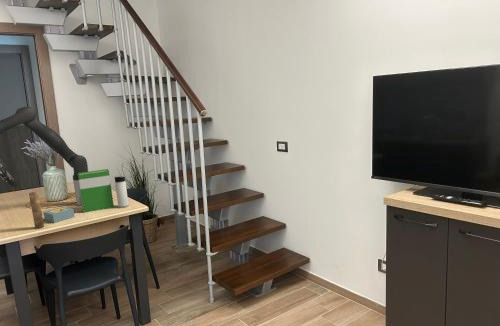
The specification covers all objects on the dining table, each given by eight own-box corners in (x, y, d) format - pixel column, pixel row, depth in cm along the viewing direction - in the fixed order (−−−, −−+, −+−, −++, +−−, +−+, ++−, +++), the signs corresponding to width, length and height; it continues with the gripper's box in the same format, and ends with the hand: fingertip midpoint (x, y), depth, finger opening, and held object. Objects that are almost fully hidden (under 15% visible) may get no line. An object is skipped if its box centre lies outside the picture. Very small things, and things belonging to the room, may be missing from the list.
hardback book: (84, 212, 230) (78, 175, 226) (83, 209, 237) (77, 173, 232) (113, 207, 238) (108, 170, 233) (112, 204, 244) (107, 168, 240)
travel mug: (115, 208, 236) (111, 177, 232) (122, 204, 242) (118, 174, 238) (123, 208, 234) (119, 177, 230) (130, 205, 240) (126, 175, 236)
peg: (41, 225, 210) (35, 191, 207) (45, 226, 208) (39, 192, 204) (33, 228, 207) (27, 193, 203) (37, 229, 204) (31, 194, 201)
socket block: (64, 214, 230) (63, 206, 229) (74, 216, 223) (73, 208, 222) (44, 219, 221) (43, 211, 220) (54, 223, 213) (52, 214, 213)
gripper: (-3, 158, 200) (19, 181, 204) (2, 160, 213) (23, 182, 216) (-16, 166, 197) (6, 190, 201) (-10, 169, 210) (11, 190, 214)
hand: (15, 186), depth 209 cm, fingers open, 8 cm apart
